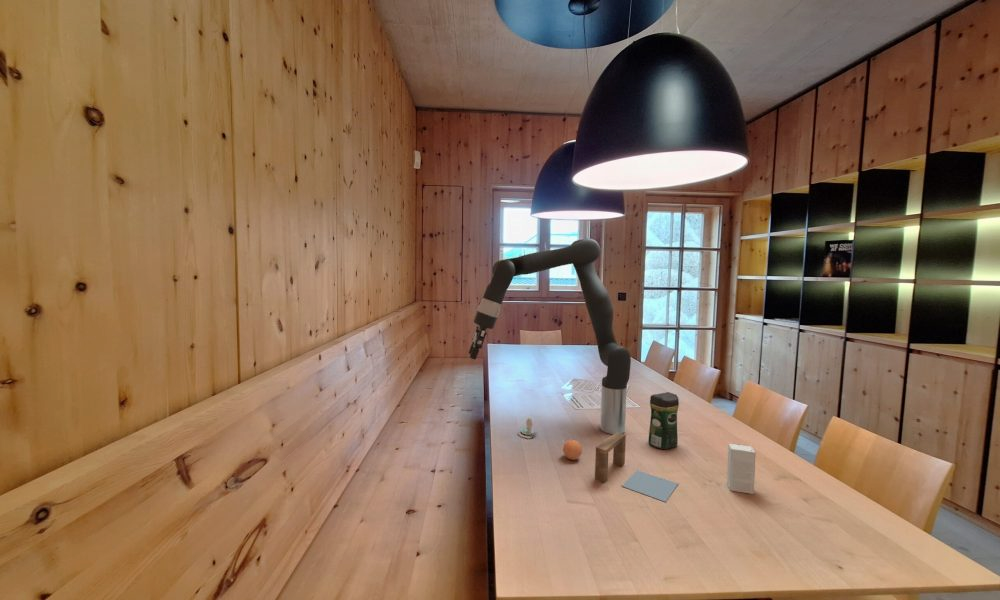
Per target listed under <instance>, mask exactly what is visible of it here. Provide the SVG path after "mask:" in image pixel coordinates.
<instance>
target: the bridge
mask: <svg viewBox="0 0 1000 600" xmlns="http://www.w3.org/2000/svg"><path fill="white" fill-rule="evenodd" d="M626 436H627V434H625V433H618V432H616V433H615V434H611V436H610V437H608V438H607V439H605V440H603V442H601V443H599V444H598V445H596V446H595V462H594V463H595V466H594V467H595V468H594V481H597V482H601V483H603V484H605V483H606V482H607V481H608V476H609V475H608V472H609V452H610V451H613V453H612V454H613V455H612V464H613V465H616V466H618V465H619V467H624V466H625V465H626V463H625V461H626V438H627V437H626ZM624 464H625V465H624Z"/></svg>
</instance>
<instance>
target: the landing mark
mask: <svg viewBox="0 0 1000 600" xmlns="http://www.w3.org/2000/svg"><path fill="white" fill-rule="evenodd" d="M677 485H678V486H679V483H677V482H674V481H672V480H669V479H666V478H662V477H658V476H657V475H656V476H655V475H654V474H650V473H648V472H647V473H646V472H644V471H641V470H638V469H637V470H635V472H633V474H632V475H631V476H630V477H629V478H628V479H627V480H626V481H625V482H624V483H623V484H621V488H624V489H627V490H630V491H632V492H635V491H636V492H637V493H639V494H641V495H644V496H646V497H650V498H653V499H654V500H655V499H656V500H658V501H661V502H663V503H666V502H667V501H668V500H669V498H671V495H672V494H673V493H674V491H675V490H676V489H677V487H678V486H677Z"/></svg>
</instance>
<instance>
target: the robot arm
mask: <svg viewBox="0 0 1000 600" xmlns="http://www.w3.org/2000/svg"><path fill="white" fill-rule="evenodd" d="M601 251H602V250H601V247H600V244H599V243H598V241H596V240H595V239H593V238H582V239H576V240H575V241H573V242H572V243H571V244H570V245H568V246H564V247H561V248H560V247H559V248H555V249H548V250H542V251H537V252H533V253H528V254H527V253H526V254H523V255H520V256H517V257H511V258H507V259H499V260H497V261H496V262H494V263H493V266H492V268H491V269H492V271H491V272H492V274H493V275H492V278H491V280H490V282H489V284H487V286H486V288H485V290H484V294H483V297H482V299H481V301H480V303H479V305H478V307H477V311H476V314H475V316H474V319H473V323H474V324H476V325H477V326H476V327H475V329H474V331H473V332H474V333H473V335H472V339H471V346H470V348H469V350H468V354H469V358H470V359H473V360H477V357H478V356H479V352H480V350H481V349H482V348H483V345H484V343H485V339H486V337H487V335H488V332H487V329H488V330H493V329H495V325H496V323H497V320H498V317H499V315H500V312H501V307H502V304H503V301H504V298H505V295H506V292H507V290H508V289H509V287H510V285H511V283H512V281H513V279H514V277H518V276H520V275H522V276H523V275H531V274H535V273H539V272H544V271H547V270H550V269H554V268H557V267H562V266H567V265H573V267H574V270H575V272H576V275H577V277H578V280H579V284H580V288H581V291H582V295H583V299H584V302H585V306H586V310H587V313H588V315H589V318H590V322H591V325H592V329H593V332H594V335H595V339H596V344H597V349H598V355H599V359H600V362H601V363H602V364H603V366H606V368H607V370H606V376H603V377H602V379H601V398H600V399H601V402H600V427H599V429H600V430H601V431H602V432H603V433H606V434H610V435H613V434H615V433H616V432H618V433H622V434H625V432H626V418H627V417H626V415H627V414H626V413H627V394H628V393H627V390H628V388H627V387H628V382H629V380H630V375H631V364H632V361H631V360H632V358H631V353H630V350H628V349H627V348H626V347H625V346H622V345H619V344H618V342H617V340H616V337H615V333H614V328H613V323H614V322H613V321H614V308H613V304H612V300H611V297H610V294H609V291H608V290H607V287H606V286H605V285H604V284H603V282H602V280H601V279H600V277H599V276H598V273H597V271H596V267H595V265H594V262H596V260H598V258H599V257H600V255H601Z"/></svg>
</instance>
